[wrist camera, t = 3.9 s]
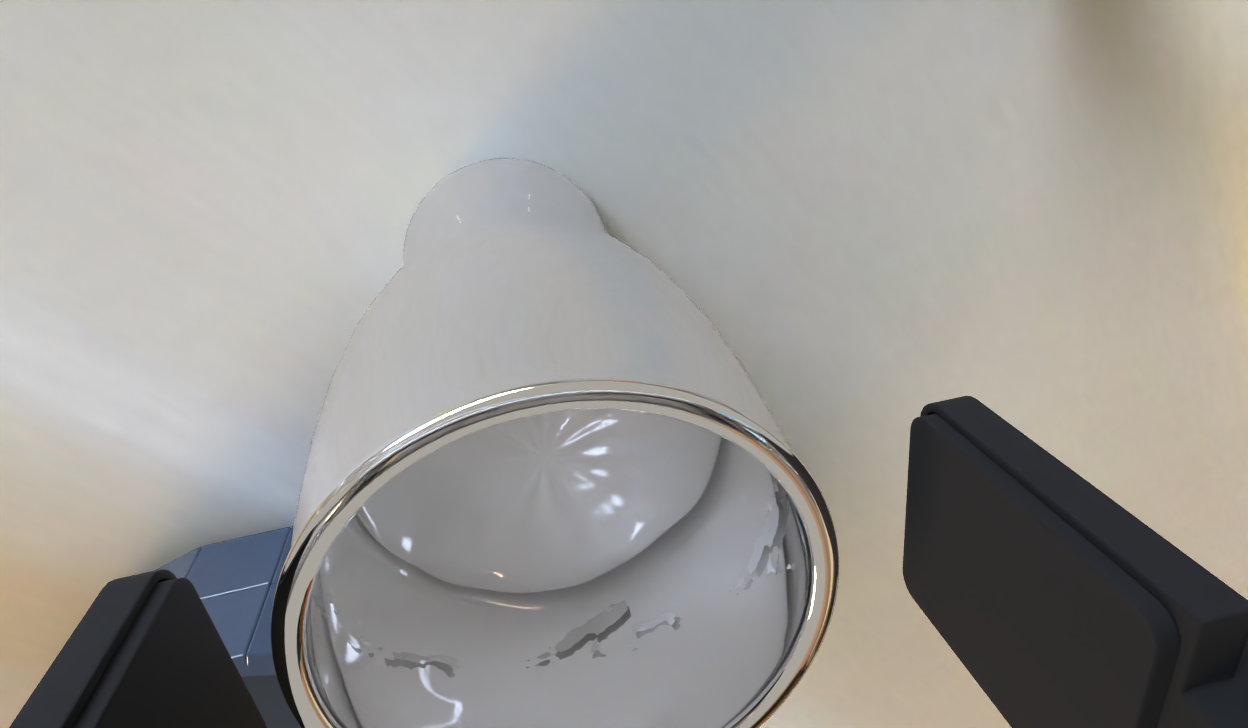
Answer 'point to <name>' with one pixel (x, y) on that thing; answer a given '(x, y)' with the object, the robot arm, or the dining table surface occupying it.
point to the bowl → (244, 608)
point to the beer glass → (545, 493)
